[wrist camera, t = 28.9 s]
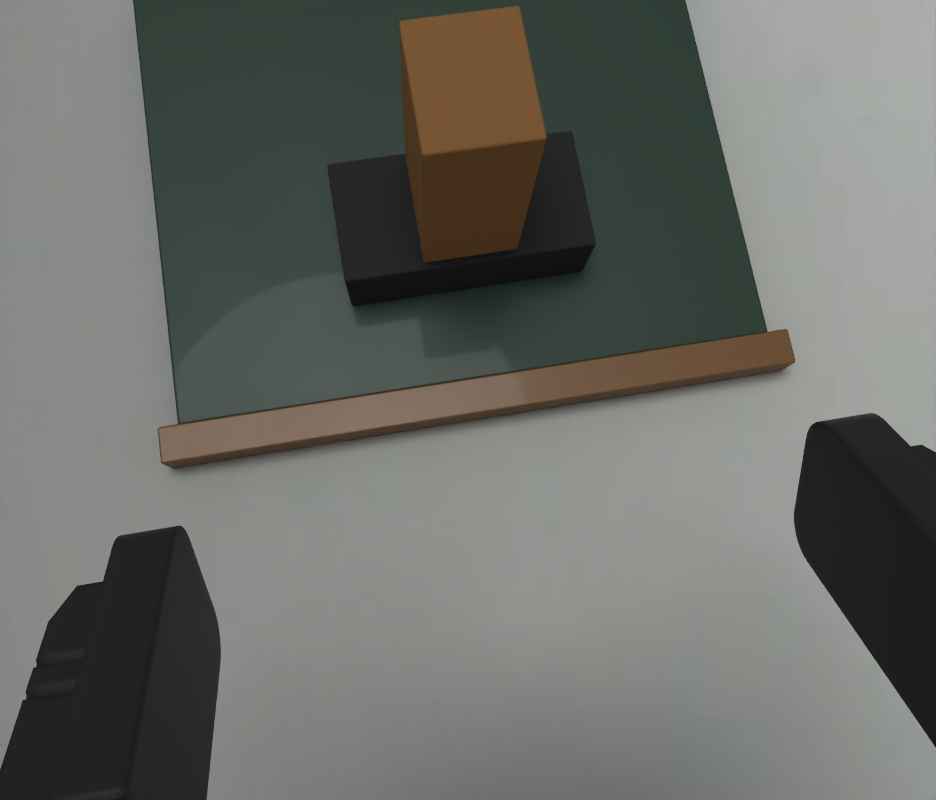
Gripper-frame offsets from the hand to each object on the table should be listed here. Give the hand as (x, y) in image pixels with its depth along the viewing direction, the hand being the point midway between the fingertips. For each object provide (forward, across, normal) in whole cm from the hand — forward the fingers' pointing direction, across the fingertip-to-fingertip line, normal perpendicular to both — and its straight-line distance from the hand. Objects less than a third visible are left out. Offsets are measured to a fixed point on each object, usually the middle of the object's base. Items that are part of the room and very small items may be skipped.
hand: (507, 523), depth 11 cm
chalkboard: (+22, -2, +3) cm, 23 cm away
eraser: (+20, -2, +4) cm, 20 cm away
